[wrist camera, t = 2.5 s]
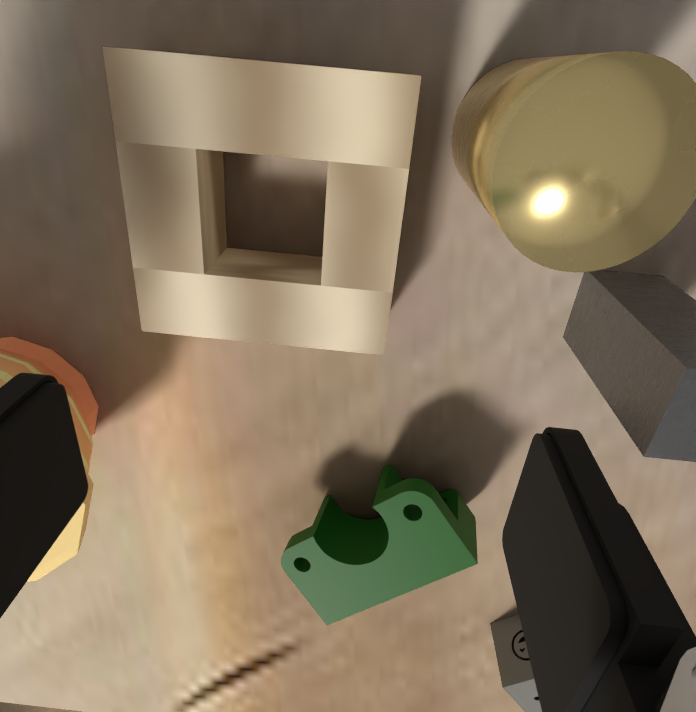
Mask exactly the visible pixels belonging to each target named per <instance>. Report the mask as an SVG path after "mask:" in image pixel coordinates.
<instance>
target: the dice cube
mask: <svg viewBox="0 0 696 712" xmlns="http://www.w3.org/2000/svg"><path fill="white" fill-rule="evenodd" d="M490 625H491V630H492V635H493V640H494V645H495V650H496V656H497V661H498V666H499V671H500V676H501V681H502V686H503V688H504V690H505V691H506V692H507V693H508V694H509V695H510V696H511V697H512V698H513V699H514V700H515V701H516V702H517V704H518V705H519V706H520V707H521V708H522V709H523V710H524V711H525V712H542V709H541V705H540V701H539V697H538V692H537V688H536V684H535V680H534V676H533V671H532V667H531V663H530V659H529V655H528V650H527V646H526V642H525V638H524V634H523V629H522V625H521V621H520V617H519V614H518V615H515V616H511V617H508V618H505V619H502V620H499V621H496V622H493V623H490Z"/></svg>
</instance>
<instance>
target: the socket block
mask: <svg viewBox="0 0 696 712" xmlns="http://www.w3.org/2000/svg"><path fill="white" fill-rule="evenodd" d="M102 50H103V57H104V64H105V71H106V79H107V86H108V93H109V100H110V107H111V115H112V122H113V129H114V136H115V143H116V150H117V158H118V165H119V172H120V179H121V186H122V193H123V201H124V208H125V215H126V222H127V229H128V237H129V244H130V251H131V258H132V265H133V272H134V280H135V287H136V294H137V301H138V308H139V315H140V323H141V330H142V331H144V332H155V333H165V334H175V335H185V336H195V337H205V338H216V339H226V340H236V341H246V342H256V343H266V344H277V345H287V346H297V347H307V348H317V349H327V350H338V351H348V352H358V353H368V354H378V355H384V354H385V347H386V339H387V332H388V324H389V317H390V309H391V302H392V294H393V287H394V279H395V272H396V264H397V256H398V249H399V241H400V234H401V226H402V219H403V211H404V204H405V196H406V189H407V181H408V174H409V166H410V159H411V151H412V144H413V136H414V129H415V121H416V114H417V106H418V99H419V91H420V84H421V76H420V75H414V74H403V73H392V72H381V71H370V70H359V69H348V68H337V67H326V66H316V65H305V64H294V63H283V62H272V61H261V60H250V59H239V58H228V57H218V56H207V55H196V54H185V53H174V52H163V51H152V50H141V49H128V48H115V47H102ZM223 151H224V152H235V153H245V154H256V155H267V156H277V157H288V158H299V159H309V160H320V161H328V169H327V187H326V204H325V222H324V240H323V257H320V256H309V255H299V254H288V253H278V252H268V251H257V250H247V249H236V248H227V231H226V207H225V182H224V158H223Z"/></svg>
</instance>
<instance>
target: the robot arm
mask: <svg viewBox="0 0 696 712" xmlns="http://www.w3.org/2000/svg"><path fill="white" fill-rule="evenodd" d="M87 492H88V481H87V477H86V472H85V468H84V464H83V460H82V456H81V452H80V447H79V443H78V439H77V435H76V431H75V427H74V422H73V418H72V414H71V410H70V406H69V402H68V397H67V393H66V390H65V387H64V386H63V385H62V384H59V383H58V381H57V379H56V378H55V377H54V376H51V375H43V374H33V373H19V374H17V375H16V376H14V377H13V378H12V379H11V380H9V381H8V382H7V383H6V384H4V385H3V386H2V387H1V388H0V618H1V616H2V615H3V614H4V612H5V611H6V609H7V608H8V607H9V605H10V604H11V602H12V601H13V600H14V598H15V597H16V596H17V594H18V593H19V591H20V590H21V589H22V587H23V586H24V584H25V583H26V582H27V580H28V579H29V577H30V576H31V575H32V573H33V572H34V570H35V569H36V568H37V566H38V565H39V563H40V562H41V561H42V559H43V558H44V556H45V555H46V554H47V552H48V551H49V549H50V548H51V547H52V545H53V544H54V542H55V541H56V540H57V538H58V537H59V535H60V534H61V533H62V531H63V530H64V528H65V527H66V526H67V524H68V523H69V521H70V520H71V519H72V517H73V516H74V515H75V513H76V512H77V510H78V509H79V508H80V506H81V505H82V503H83V502H84V500H85V498H86V496H87ZM502 541H503V549H504V554H505V558H506V562H507V566H508V570H509V575H510V579H511V583H512V587H513V591H514V596H515V600H516V604H517V608H518V612H519V617H520V621H521V625H522V629H523V634H524V638H525V642H526V646H527V650H528V655H529V659H530V663H531V667H532V671H533V676H534V680H535V684H536V688H537V692H538V697H539V701H540V705H541V709H542V712H696V636H695V634H694V633H693V631H692V629H691V627H690V625H689V623H688V622H687V620H686V618H685V616H684V614H683V612H682V610H681V609H680V607H679V605H678V603H677V601H676V599H675V598H674V596H673V594H672V592H671V590H670V588H669V586H668V585H667V583H666V581H665V579H664V577H663V575H662V574H661V572H660V570H659V568H658V566H657V564H656V562H655V561H654V559H653V557H652V555H651V553H650V551H649V550H648V548H647V546H646V544H645V542H644V540H643V539H642V537H641V535H640V533H639V531H638V529H637V527H636V526H635V524H634V522H633V520H632V518H631V516H630V515H629V513H628V512H627V510H626V509H625V507H623V506H622V505H620V504H619V503H618V502H617V500H616V498H615V496H614V494H613V492H612V491H611V489H610V487H609V485H608V483H607V481H606V479H605V477H604V475H603V474H602V472H601V470H600V468H599V466H598V464H597V462H596V460H595V458H594V457H593V455H592V453H591V451H590V449H589V447H588V445H587V443H586V442H585V440H584V438H583V436H582V434H581V433H580V432H579V431H578V430H572V429H562V428H552V427H548V428H546V429H545V430H544V432H543V434H538V433H537V434H535V435H534V437H533V439H532V442H531V445H530V449H529V452H528V455H527V458H526V461H525V464H524V467H523V470H522V473H521V476H520V479H519V483H518V486H517V489H516V492H515V495H514V498H513V501H512V504H511V507H510V510H509V514H508V517H507V520H506V523H505V526H504V529H503V538H502ZM0 712H80V711H72V710H63V709H55V708H46V707H38V706H29V705H20V704H12V703H3V702H0Z"/></svg>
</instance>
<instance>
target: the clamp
mask: <svg viewBox="0 0 696 712" xmlns="http://www.w3.org/2000/svg"><path fill="white" fill-rule="evenodd" d="M372 507H373V508H374V509H375V510H376V511H377V512H378V513H379V514H380V515H381V516H382V517H380V518H377V519H371V520H365V519H358V518H355V517H352V516H350V515H348V514H347V513H345V512H344V511H342V510H341V509H340V508H339V507H338V506H337V505H336V503H335V502H334V500H333V499H332V497H331V495H330V496H328V497H326V498H324V500H323V503H322V505H321V507H320V509H319V512H318V514H317V516H316V519H315V521H314V523H313V525H312V526H311V527H309V528H307V529H305V530H303V531H301V532H299V533H297V534H295V535H293V536H292V537H291V539H290V540H289V542H288V544H287V546H286V548H285V550H284V553H283V555H282V557H281V564H282V567H283V570H284V571H285V573H286V574H287V575H288V576H289V578H290V579H291V580H292V582H293V583H294V584H295V585H296V587H297V588H298V589H299V590H300V592H301V593H302V594H303V596H304V597H305V598H306V599H307V601H308V602H309V603H310V604H311V606H312V607H313V608H314V610H315V611H316V612H317V613H318V615H319V616H320V617H321V619H322V620H323V621H324V622H325V624H326V625H329V624H331V623H334V622H336V621H339V620H341V619H344V618H346V617H348V616H351V615H353V614H356V613H358V612H361V611H363V610H366V609H368V608H370V607H373V606H375V605H378V604H380V603H383V602H385V601H388V600H390V599H392V598H395V597H397V596H400V595H402V594H405V593H407V592H410V591H412V590H415V589H417V588H419V587H422V586H424V585H427V584H429V583H432V582H434V581H437V580H439V579H441V578H444V577H446V576H449V575H451V574H454V573H456V572H459V571H461V570H463V569H466V568H468V567H471V566H473V565H476V564H478V562H477V541H476V521H475V517H474V515H473V514H472V512H471V511H470V509H469V508H468V506H467V505H466V504H465V502H464V501H463V499H462V498H461V496H460V495H459V494H458V492H457V491H456V490H453V489H448V490H445V491H443V492H441V493H439V494H438V492H437V491H436V489H435V488H434V487H433V486H432V485H431V484H430V483H428V482H427V481H425V480H422V479H418V478H409V479H405V480H403V481H402V479H401V478H400V477H399V475H398V474H397V472H396V471H395V470H394V468H393V467H392V466H391V465H388V466H386V467H384V468H383V470H382V473H381V477H380V481H379V484H378V488H377V492H376V495H375V499H374V503H373V506H372Z"/></svg>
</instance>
